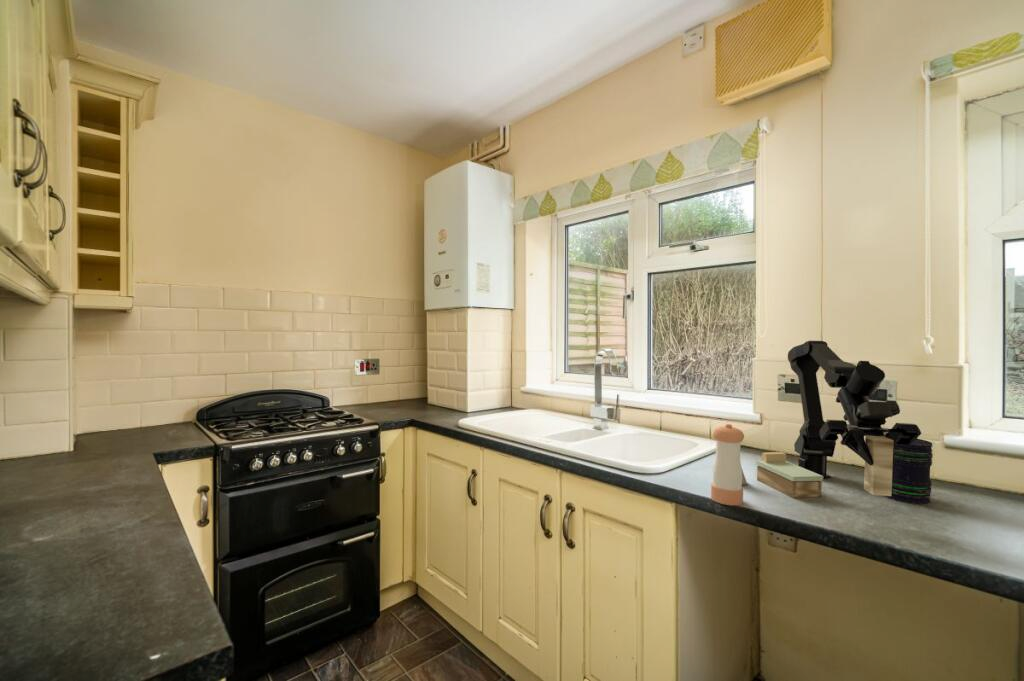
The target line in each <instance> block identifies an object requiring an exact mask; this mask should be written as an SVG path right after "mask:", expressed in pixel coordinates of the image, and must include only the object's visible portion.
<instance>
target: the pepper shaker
mask: <svg viewBox="0 0 1024 681" xmlns="http://www.w3.org/2000/svg"><path fill="white" fill-rule="evenodd" d="M712 436H713V438H714V439H715V440H716V441H715V442H716V444H715V458H714V463H713V469H712V483H711V484H710V486H711V487H710V488H711V489H710V498H711V500H712V501H714V502H716V503H718V504H721V505H726V506H741V505H743V503H744V488H743V485H742V470H743V468H742V469H741V467H742V464H741V462H742V461H741V443H742V442H743V440H744V439H745V434H744V432H743V431H742V430H741V429H739V428H737V427H734V426H733V425H732V424H730V423H725V425H724V426H723V425H722V426H719V427H716V428H715V429H714V430H713V432H712Z"/></svg>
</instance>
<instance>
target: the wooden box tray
mask: <svg viewBox="0 0 1024 681" xmlns="http://www.w3.org/2000/svg"><path fill="white" fill-rule="evenodd" d="M756 466H757V468H756V480H757V481H758V482H759V483H760V482H761V483H763V484H764V485H766V486H768V487H770V488H772V489H774V490H776V491H777V492H780V493H782V494H783V495H785V496H788V497H790V498H792V499H797V498H798V499H801V498H803V499H805V498H822V486H823V484H822V482H823V481H794V482H793V481H791V480H789V479H786V478H784V477H782V476H780V475H778V474H776V473H773V472H771V471H769V470H767V469H765V468H762V467H760V466H758V465H756Z"/></svg>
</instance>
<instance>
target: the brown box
mask: <svg viewBox="0 0 1024 681" xmlns="http://www.w3.org/2000/svg"><path fill="white" fill-rule="evenodd" d="M864 440H865V443H866V445H867V447H868V449H869V451H870V454H871V456H872V459H873V465H869V464H868V463H867V462H866V461H865V460H864V473H863V474H864V476H863V477H864V479H863V490H865V491H867V492H868V493H869V494H870V495H872V496H883V497H885V496H891V493H892V466H893V447H894V442H893V440H891V439H889V438H886V437H883V436H865V437H864Z"/></svg>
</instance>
